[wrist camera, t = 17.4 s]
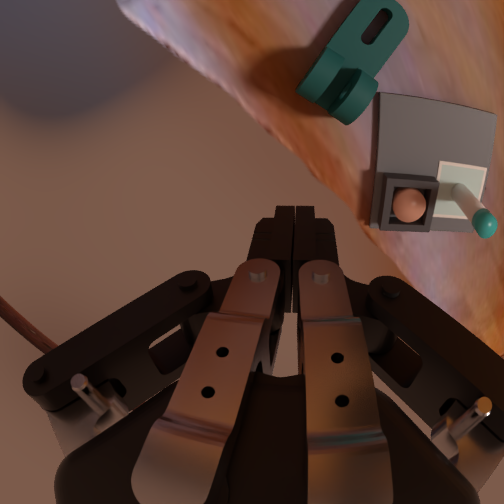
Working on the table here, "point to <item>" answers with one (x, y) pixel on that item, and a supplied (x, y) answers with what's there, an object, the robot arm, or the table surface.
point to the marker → (474, 211)
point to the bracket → (354, 61)
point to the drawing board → (429, 159)
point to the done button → (408, 204)
